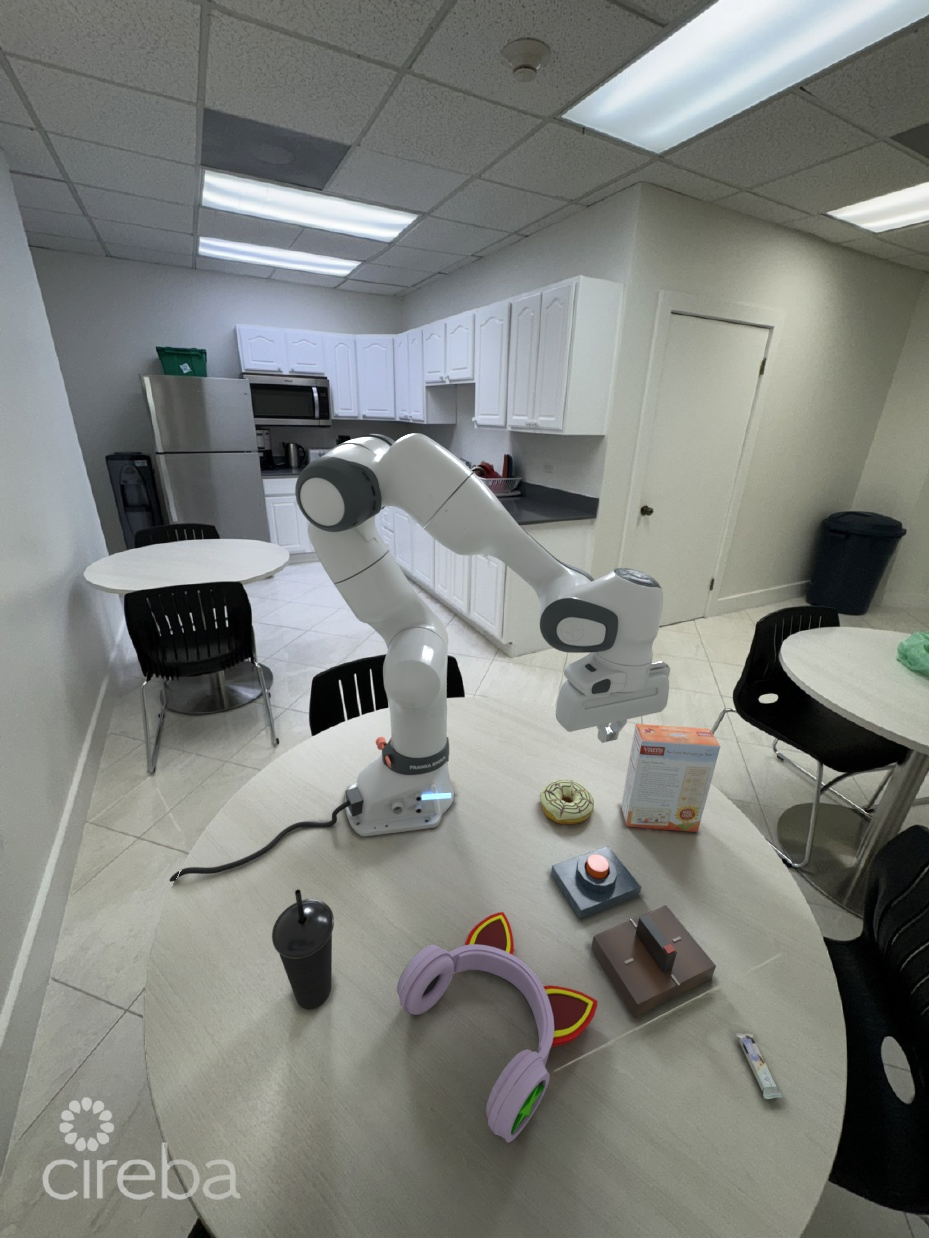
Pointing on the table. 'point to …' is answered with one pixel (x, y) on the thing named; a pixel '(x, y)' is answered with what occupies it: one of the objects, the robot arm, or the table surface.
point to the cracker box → (669, 777)
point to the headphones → (552, 1006)
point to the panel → (651, 962)
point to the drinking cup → (306, 949)
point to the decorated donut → (561, 810)
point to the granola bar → (759, 1066)
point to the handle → (656, 943)
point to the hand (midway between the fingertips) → (607, 739)
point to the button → (597, 866)
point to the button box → (594, 884)
